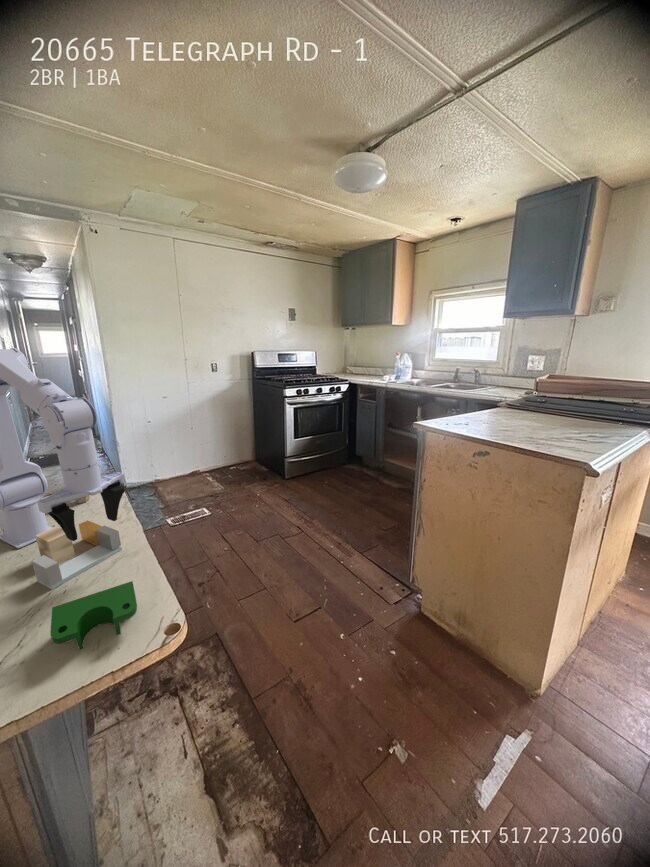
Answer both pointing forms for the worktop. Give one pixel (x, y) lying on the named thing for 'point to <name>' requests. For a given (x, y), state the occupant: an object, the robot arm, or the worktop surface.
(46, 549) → the block
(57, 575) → the vise
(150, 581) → the worktop surface
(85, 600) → the clamp
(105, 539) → the free jaw
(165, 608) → the worktop surface
